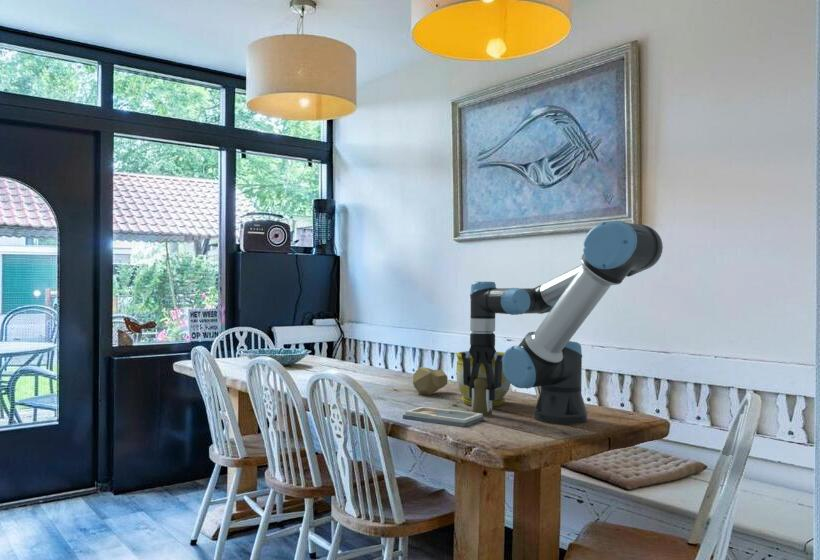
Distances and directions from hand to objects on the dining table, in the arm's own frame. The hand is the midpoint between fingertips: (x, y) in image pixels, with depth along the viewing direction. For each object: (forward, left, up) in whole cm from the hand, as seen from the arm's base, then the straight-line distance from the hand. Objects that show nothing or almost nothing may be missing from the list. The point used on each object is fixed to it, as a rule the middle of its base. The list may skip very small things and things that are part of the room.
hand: (481, 409), depth 193 cm
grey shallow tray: (+6, +13, -1) cm, 14 cm away
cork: (0, 0, -1) cm, 1 cm away
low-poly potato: (+32, -23, -2) cm, 39 cm away
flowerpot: (+8, -17, -2) cm, 19 cm away
